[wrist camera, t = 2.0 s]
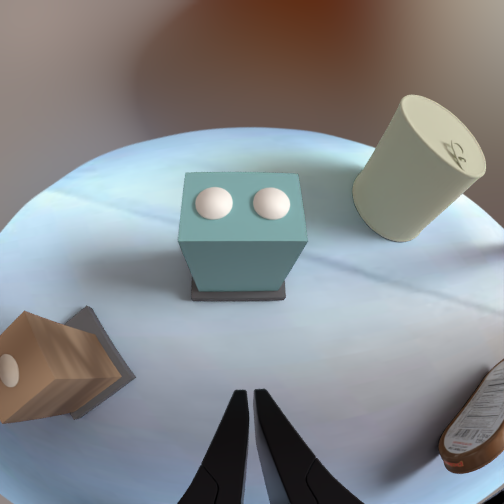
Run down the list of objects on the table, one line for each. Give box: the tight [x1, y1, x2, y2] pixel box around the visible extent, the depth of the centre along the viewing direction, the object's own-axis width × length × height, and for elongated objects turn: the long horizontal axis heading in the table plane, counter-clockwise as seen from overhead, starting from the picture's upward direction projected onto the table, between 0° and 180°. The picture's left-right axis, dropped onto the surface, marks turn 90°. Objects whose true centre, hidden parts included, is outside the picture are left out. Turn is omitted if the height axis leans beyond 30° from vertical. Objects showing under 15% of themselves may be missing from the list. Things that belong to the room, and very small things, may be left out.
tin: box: [439, 359, 504, 474], centre depth 14 cm, size 15×3×8 cm, turn 121°
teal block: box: [178, 172, 308, 292], centre depth 17 cm, size 4×6×9 cm, turn 92°
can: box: [352, 95, 486, 242], centre depth 21 cm, size 9×9×12 cm
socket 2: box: [191, 276, 286, 301], centre depth 23 cm, size 7×7×1 cm
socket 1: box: [64, 306, 136, 420], centre depth 18 cm, size 7×7×1 cm
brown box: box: [0, 311, 122, 424], centre depth 13 cm, size 4×6×9 cm, turn 131°
